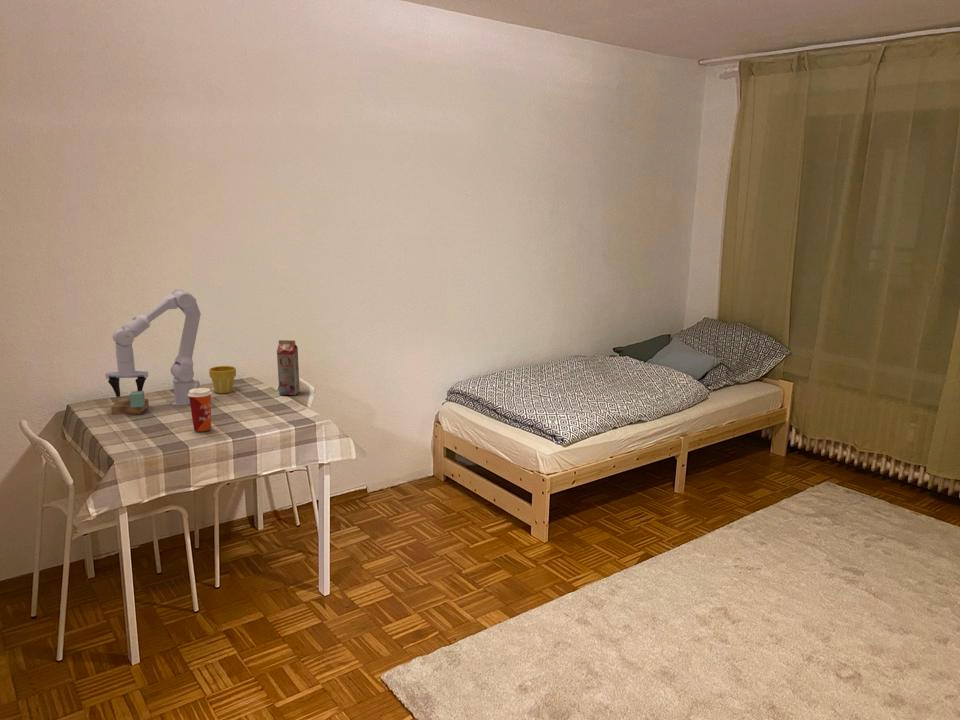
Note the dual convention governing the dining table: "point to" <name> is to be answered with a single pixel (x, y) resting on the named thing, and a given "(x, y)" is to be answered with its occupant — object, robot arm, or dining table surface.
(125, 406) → the walnut plinth
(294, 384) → the juice carton
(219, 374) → the plant pot
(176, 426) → the dining table surface
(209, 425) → the paper cup
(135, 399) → the teal block
